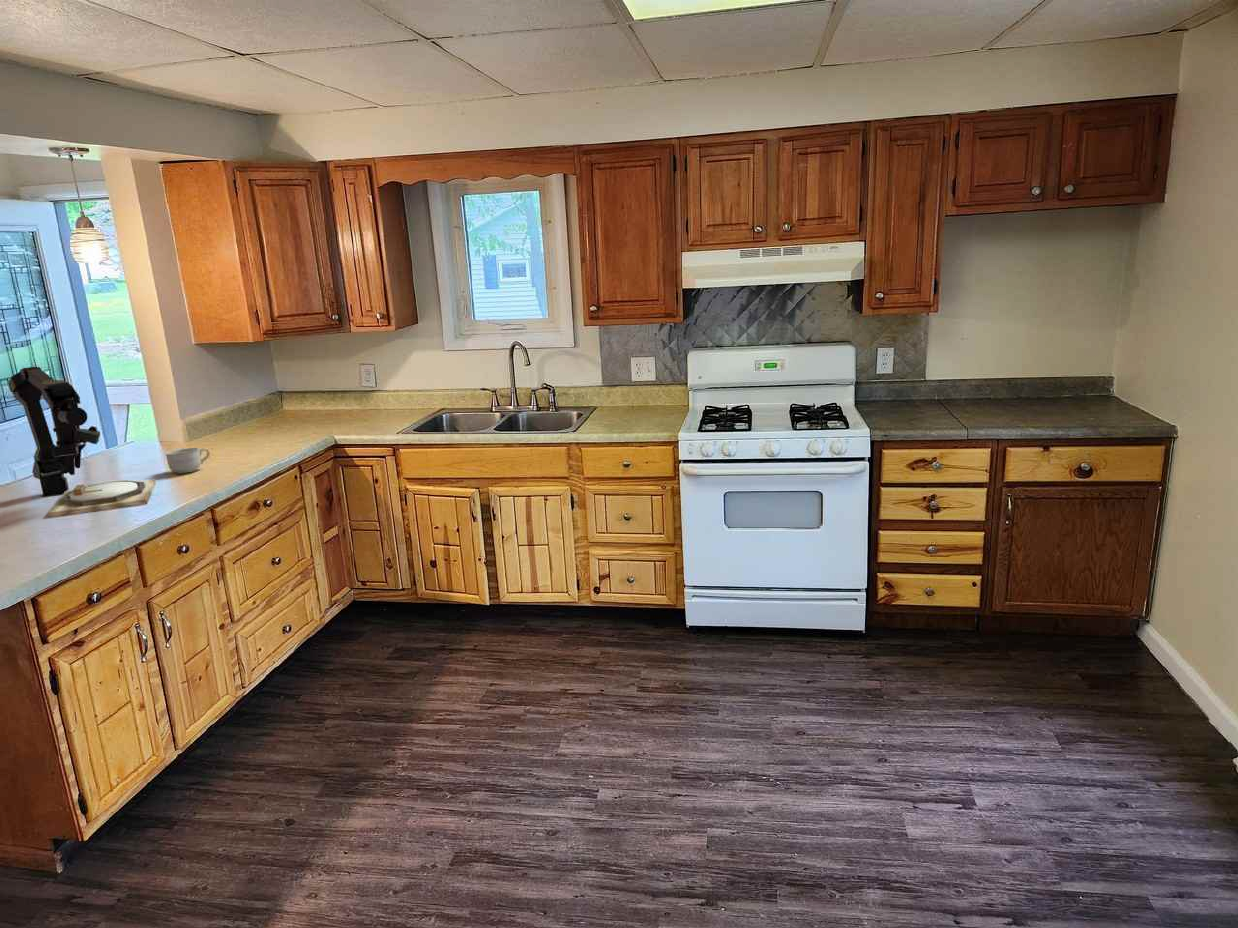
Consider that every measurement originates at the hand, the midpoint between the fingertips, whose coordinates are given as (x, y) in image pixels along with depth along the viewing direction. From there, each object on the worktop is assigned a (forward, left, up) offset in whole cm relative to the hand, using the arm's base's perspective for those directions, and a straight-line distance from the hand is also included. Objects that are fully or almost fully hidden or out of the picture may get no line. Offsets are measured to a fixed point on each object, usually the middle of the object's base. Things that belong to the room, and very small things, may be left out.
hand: (75, 471), depth 253 cm
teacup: (+30, +26, -11) cm, 41 cm away
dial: (+7, 0, -9) cm, 11 cm away
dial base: (+7, 0, -10) cm, 12 cm away
